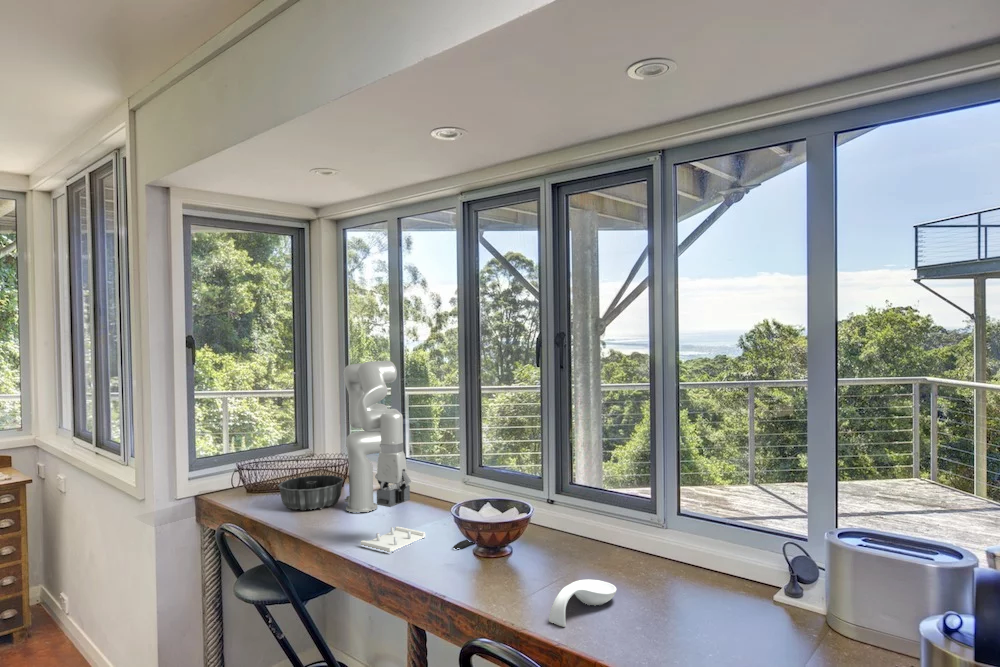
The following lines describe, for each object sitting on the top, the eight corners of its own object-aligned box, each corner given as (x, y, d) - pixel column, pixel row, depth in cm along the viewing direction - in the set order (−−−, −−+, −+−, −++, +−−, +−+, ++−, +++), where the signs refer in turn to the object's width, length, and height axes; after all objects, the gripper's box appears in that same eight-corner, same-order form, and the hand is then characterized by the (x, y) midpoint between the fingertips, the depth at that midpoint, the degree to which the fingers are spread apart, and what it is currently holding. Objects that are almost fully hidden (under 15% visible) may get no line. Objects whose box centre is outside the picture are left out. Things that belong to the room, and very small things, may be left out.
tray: (361, 547, 207) (360, 536, 207) (397, 531, 222) (397, 522, 222) (389, 554, 200) (389, 543, 200) (425, 538, 215) (425, 528, 215)
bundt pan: (279, 500, 267) (279, 477, 267) (342, 494, 275) (341, 472, 275) (277, 517, 242) (276, 492, 242) (346, 510, 250) (345, 486, 250)
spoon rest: (586, 587, 173) (586, 562, 173) (624, 598, 165) (624, 572, 165) (537, 619, 154) (537, 591, 154) (578, 634, 147) (577, 604, 147)
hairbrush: (445, 539, 207) (504, 520, 222) (446, 550, 207) (505, 530, 222) (459, 546, 200) (519, 526, 215) (460, 557, 200) (519, 536, 215)
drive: (375, 505, 208) (375, 489, 208) (396, 497, 217) (396, 482, 217) (388, 507, 205) (388, 492, 205) (409, 499, 214) (409, 484, 214)
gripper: (365, 448, 213) (366, 500, 213) (403, 452, 203) (404, 507, 203) (381, 444, 219) (382, 495, 219) (418, 448, 210) (419, 501, 210)
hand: (393, 500), depth 211 cm, fingers closed on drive, 6 cm apart
